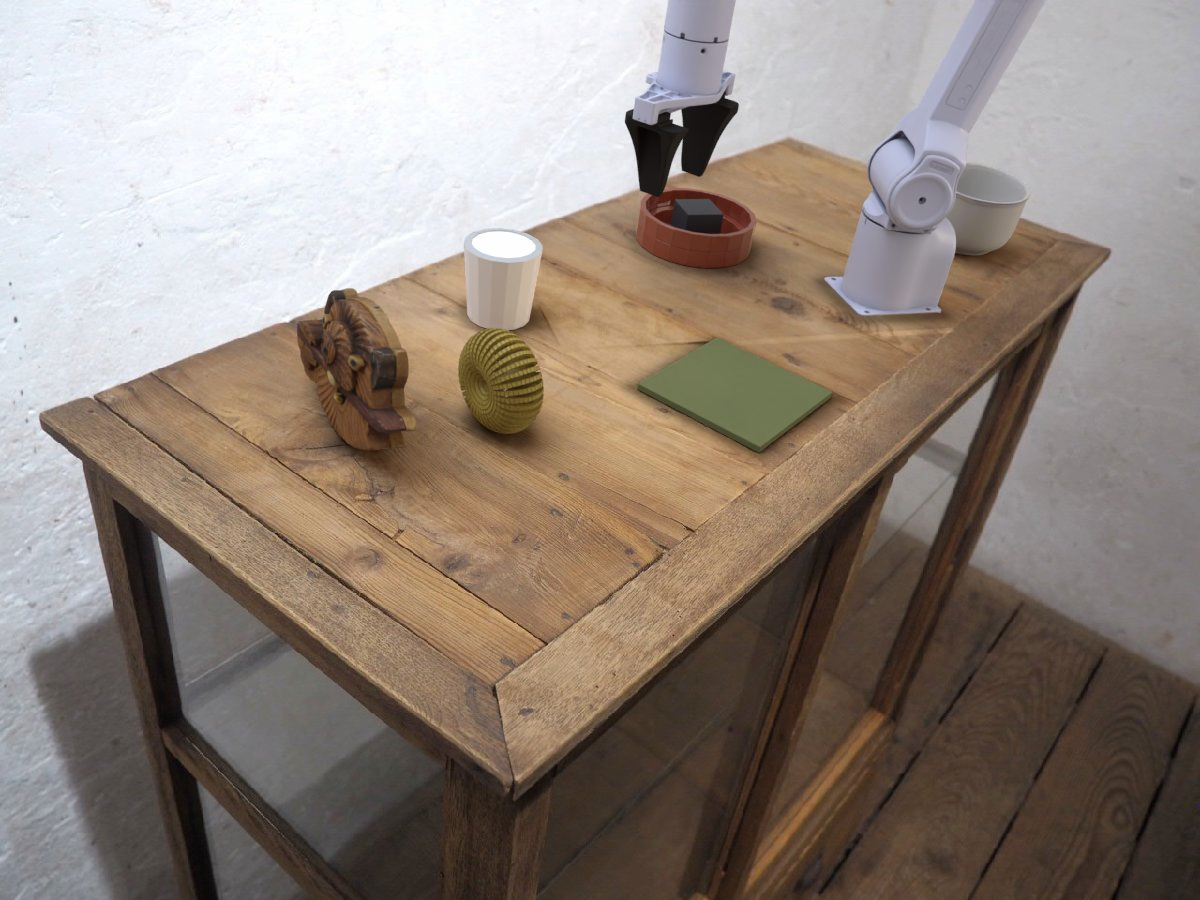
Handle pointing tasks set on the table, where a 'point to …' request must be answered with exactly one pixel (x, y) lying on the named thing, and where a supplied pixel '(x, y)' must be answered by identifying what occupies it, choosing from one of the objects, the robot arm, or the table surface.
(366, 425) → the wooden carving
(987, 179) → the teacup
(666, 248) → the bowl
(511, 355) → the sculpture
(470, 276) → the white cylinder
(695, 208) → the block
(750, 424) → the pad
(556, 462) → the table surface
